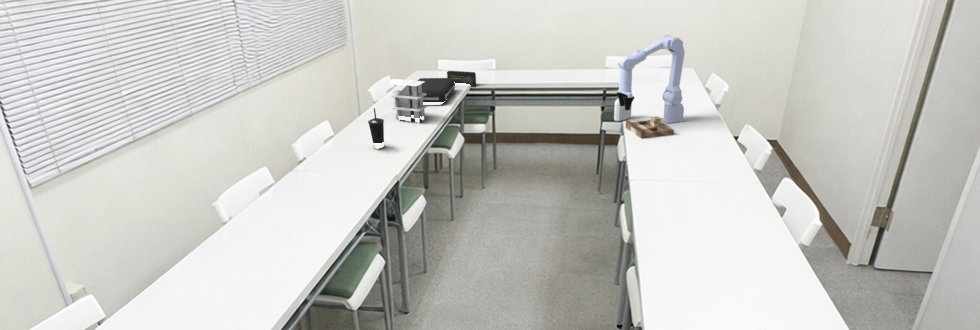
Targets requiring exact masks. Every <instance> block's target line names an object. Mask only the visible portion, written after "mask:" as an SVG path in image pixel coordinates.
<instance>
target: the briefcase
mask: <svg viewBox="0 0 980 330" xmlns="http://www.w3.org/2000/svg"><path fill="white" fill-rule="evenodd" d="M417 81H424V83H422V84H421V88H422V93H426V95H425V96H424V97H422V99H423V102H444V101H446V99H447V98H448V97H449V95H450V94H451V93H452V92H453V90H454V89H456V86H455V83H454V80H453V79H452V78H447V77H424V78H419V79H417ZM454 91H455V90H454ZM453 93H454V92H453ZM453 93H452V94H453ZM452 94H451V95H452ZM451 95H450V96H451ZM449 98H450V97H449ZM449 98H448V99H449ZM448 99H447V100H448ZM446 102H447V101H446Z"/></svg>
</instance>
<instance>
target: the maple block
mask: <svg viewBox="0 0 980 330" xmlns="http://www.w3.org/2000/svg"><path fill="white" fill-rule="evenodd" d="M662 118H663V117H660V116H659V115H658V116H650V119H649V120H650V125H651V126H653V127H659V126H661V125H662V123H663V122H662V121H663V120H662Z"/></svg>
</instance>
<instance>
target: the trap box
mask: <svg viewBox="0 0 980 330" xmlns="http://www.w3.org/2000/svg"><path fill="white" fill-rule="evenodd" d="M650 120H651V119H648V120H646V119H645V120H640V121H639V120H638V121H630V120H629V119H625V129H627V130H628V131H630V132H632V133H633V134H634V135H636V136H637V137H638V138H640V139H648V138H656V137H665V136H673V135H675V129H673V128H671V127H670V126H668V125H667V124H665V123H663V122H662V125H661V126H659V127H653V126H651V125H650Z"/></svg>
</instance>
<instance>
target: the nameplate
mask: <svg viewBox="0 0 980 330" xmlns="http://www.w3.org/2000/svg"><path fill="white" fill-rule="evenodd" d="M446 78H452V79H453V80H454V82H455V83H466V84H470V85H471V87H470V88H475V87H476V86H477V75H476V72H475V71H463V70H462V71H460V70H448V71H447V72H446Z"/></svg>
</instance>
